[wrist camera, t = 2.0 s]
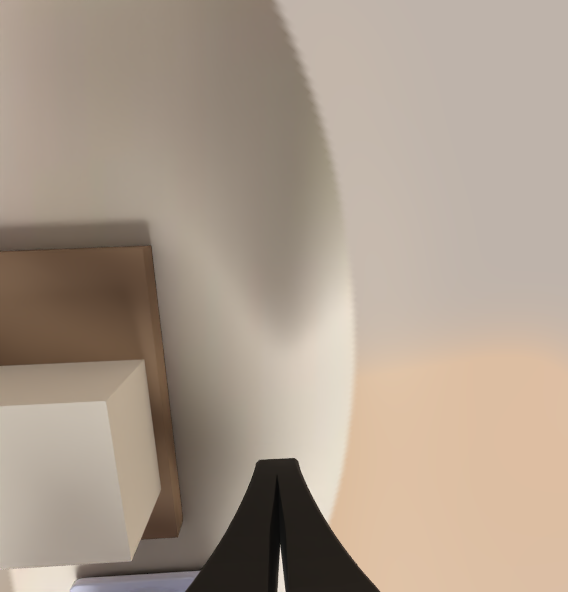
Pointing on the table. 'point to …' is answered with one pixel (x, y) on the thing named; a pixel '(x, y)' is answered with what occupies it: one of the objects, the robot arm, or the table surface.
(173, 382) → the table surface
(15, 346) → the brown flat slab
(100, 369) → the carton
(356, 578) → the robot arm
